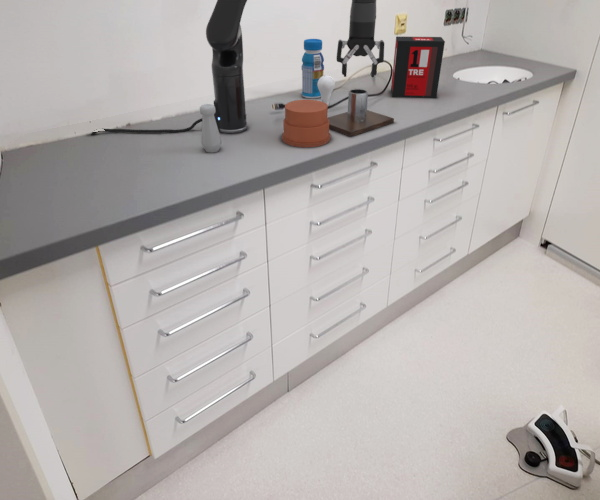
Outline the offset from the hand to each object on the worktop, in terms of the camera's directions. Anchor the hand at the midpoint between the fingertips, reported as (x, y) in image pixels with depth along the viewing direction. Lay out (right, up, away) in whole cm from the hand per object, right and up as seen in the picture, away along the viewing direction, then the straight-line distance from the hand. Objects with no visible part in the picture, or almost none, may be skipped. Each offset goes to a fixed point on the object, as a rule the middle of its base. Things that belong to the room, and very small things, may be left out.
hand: (358, 76), depth 148 cm
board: (0, -13, +8) cm, 15 cm away
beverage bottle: (-13, +5, +36) cm, 38 cm away
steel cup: (0, -11, +7) cm, 14 cm away
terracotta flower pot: (-16, -20, -3) cm, 26 cm away
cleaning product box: (+26, +6, +37) cm, 45 cm away
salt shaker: (-44, -25, -10) cm, 52 cm away
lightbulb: (-9, -3, +24) cm, 25 cm away
